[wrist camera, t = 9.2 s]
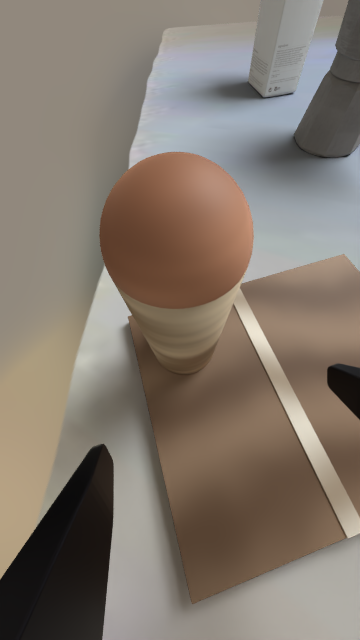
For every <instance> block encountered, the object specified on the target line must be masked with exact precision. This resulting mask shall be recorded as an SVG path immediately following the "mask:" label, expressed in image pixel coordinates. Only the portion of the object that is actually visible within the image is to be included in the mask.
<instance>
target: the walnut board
mask: <svg viewBox="0 0 360 640" xmlns="http://www.w3.org/2000/svg"><path fill="white" fill-rule="evenodd" d="M128 319H129V324H130V328H131V333H132V337H133V342H134V346H135V351H136V355H137V360H138V364H139V369H140V373H141V378H142V382H143V387H144V391H145V396H146V400H147V405H148V409H149V414H150V418H151V422H152V427H153V431H154V436H155V440H156V445H157V449H158V454H159V458H160V463H161V467H162V472H163V476H164V481H165V485H166V490H167V494H168V499H169V503H170V508H171V512H172V517H173V521H174V526H175V530H176V535H177V539H178V544H179V548H180V553H181V557H182V562H183V566H184V571H185V575H186V580H187V584H188V589H189V593H190V598H191V602H192V604H194V603H196V602H198V601H201V600H203V599H205V598H208V597H210V596H212V595H215V594H217V593H219V592H222V591H224V590H226V589H229V588H231V587H233V586H236V585H238V584H240V583H243V582H245V581H247V580H249V579H252V578H254V577H256V576H259V575H261V574H263V573H266V572H268V571H270V570H273V569H275V568H277V567H280V566H282V565H284V564H287V563H289V562H291V561H294V560H296V559H298V558H301V557H303V556H305V555H307V554H310V553H312V552H314V551H317V550H319V549H321V548H324V547H326V546H328V545H331V544H333V543H335V542H338V541H340V540H342V539H345V538H350V537H353V536H355V535H357V534H360V420H359V419H358V418H357V417H356V416H355V415H354V414H353V413H352V412H351V411H350V410H349V408H348V407H347V406H346V405H345V404H344V403H343V402H342V401H341V400H340V399H339V398H338V397H337V396H336V395H335V394H334V393H333V392H332V391H331V390H330V388H329V387H328V384H327V368H328V367H329V366H331V365H334V364H337V363H340V364H345V365H350V366H354V367H359V368H360V272H359V271H358V270H357V268H356V267H355V266H354V265H353V264H352V263H351V261H350V260H349V259H348V258H347V257H346V256H345V254H343V255H339V256H336V257H332V258H329V259H325V260H322V261H318V262H315V263H311V264H308V265H305V266H301V267H298V268H294V269H291V270H287V271H284V272H280V273H277V274H273V275H270V276H266V277H263V278H260V279H256V280H253V281H249V282H246V283H242V284H241V285H240V288H239V290H238V293H237V295H236V298H235V300H234V303H233V305H232V308H231V310H230V313H229V315H228V318H227V320H226V323H225V325H224V328H223V330H222V333H221V335H220V338H219V340H218V343H217V345H216V348H215V350H214V353H213V356H212V358H211V360H210V361H209V363H208V364H207V365H206V366H205V367H204V368H203V369H202V370H200V371H198V372H196V373H193V374H189V375H179V374H175V373H172V372H170V371H168V370H167V369H165V368H164V367H163V366H162V365H161V364H160V363H159V361H158V359H157V358H156V356H155V354H154V352H153V351H152V349H151V347H150V345H149V344H148V342H147V340H146V338H145V337H144V335H143V333H142V331H141V329H140V328H139V326H138V324H137V322H136V321H135V319H134V317H133V315H131V316H128Z"/></svg>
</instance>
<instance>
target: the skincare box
mask: <svg viewBox="0 0 360 640" xmlns="http://www.w3.org/2000/svg"><path fill="white" fill-rule="evenodd" d="M322 3H323V0H261V2H260V9H259V15H258V22H257V28H256V34H255V41H254V47H253V54H252V60H251V66H250V73H249V79H248V82H249V83H250V84H251V85H252V86H253V87H254V88H255V89H256V90H257V91H258V92H259V93H260V94H261V95H262V96H263V97H272V96H278V95H284V94H289V93H293V92H295V91H296V88H297V85H298V82H299V78H300V75H301V72H302V69H303V65H304V62H305V59H306V56H307V52H308V49H309V46H310V43H311V39H312V36H313V33H314V29H315V26H316V23H317V20H318V16H319V13H320V10H321V6H322Z"/></svg>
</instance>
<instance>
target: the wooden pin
mask: <svg viewBox="0 0 360 640" xmlns="http://www.w3.org/2000/svg"><path fill="white" fill-rule="evenodd" d="M253 239H254V235H253V221H252V217H251V213H250V209H249V205H248V203H247V201H246V199H245V196H244V194H243V192H242V191H241V189H240V188H239V186H238V185H237V183H236V182H235V181H234V179H233V178H232V177H231V176H230V175H229V174H228V173H227V172H226V171H225V170H224V169H222V168H221V167H220V166H219V165H217V164H215V163H214V162H212V161H210V160H208V159H206V158H204V157H202V156H199V155H195V154H191V153H184V152H168V153H162V154H157V155H154V156H151V157H148V158H146V159H144V160H142V161H140V162H138V163H137V164H136V165H134V166H133V167H131V168H130V169H129V170H127V171H126V172H125V173H124V174H123V175H122V177H121V178H120V179H119V180H118V181H117V183H116V184H115V185H114V187H113V188H112V190H111V192H110V194H109V196H108V198H107V200H106V203H105V205H104V208H103V212H102V216H101V222H100V247H101V252H102V256H103V260H104V263H105V266H106V268H107V271H108V273H109V275H110V277H111V278H112V280H113V282H114V284H115V285H116V287H117V289H118V291H119V292H120V294H121V296H122V298H123V299H124V301H125V303H126V305H127V307H128V308H129V310H130V312H131V314H132V315H133V317H134V319H135V321H136V322H137V324H138V326H139V328H140V329H141V331H142V333H143V335H144V337H145V338H146V340H147V342H148V344H149V345H150V347H151V349H152V351H153V352H154V354H155V356H156V358H157V359H158V361H159V363H160V364H161V365H162V366H163V367H164V368H165V369H167V370H168V371H170V372H172V373H175V374H179V375H189V374H193V373H196V372H198V371H200V370H202V369H203V368H204V367H205V366H206V365H207V364H208V363H209V361H210V360H211V358H212V356H213V353H214V350H215V348H216V345H217V343H218V340H219V338H220V335H221V333H222V330H223V328H224V325H225V323H226V320H227V318H228V315H229V313H230V310H231V308H232V305H233V303H234V300H235V298H236V295H237V293H238V290H239V288H240V285H241V283H242V280H243V277H244V275H245V272H246V270H247V267H248V264H249V261H250V258H251V254H252V248H253Z"/></svg>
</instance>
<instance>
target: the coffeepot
mask: <svg viewBox="0 0 360 640" xmlns="http://www.w3.org/2000/svg"><path fill="white" fill-rule="evenodd" d="M335 46H336V49H337V50H338V51H337V54H336V56H335V59H334V61H333V63H332V66H331V68H330V71H328V73H327V74H326V75H325V76H324V78H323V80H322V82H321V84H320V86H319V88H318V89H317V91H316V93H315V95H314V97H313V99H312V101H311V103H310V105H309V107H308V109H307V110H306V112H305V114H304V116H303V118H302V120H301V122H300V124H299V126H298V128H297V130H296V132H295V133H294V136H295V140H296V143H297V145H298V146H299V147H300V148H301V149H303V150H304V151H306V152H308V153H310V154H313V155H316V156H321V157H342V156H346V155H349V154H351V153H352V152H353V151H354V150H355V149H356V147H357V146H358V145H359V144H360V0H349V1H348V5H347V8H346V12H345V15H344V18H343V21H342V25H341V28H340V31H339V35H338V38H337V41H336V45H335Z"/></svg>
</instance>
